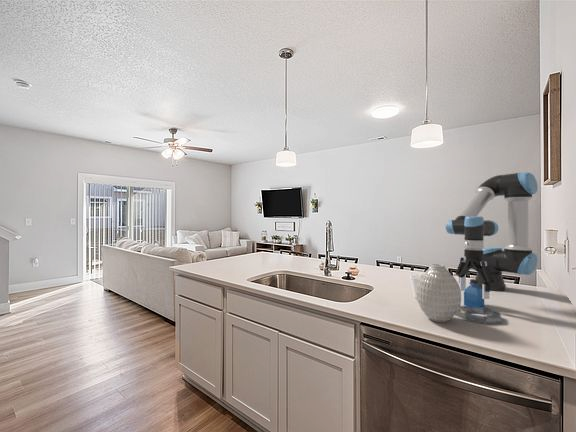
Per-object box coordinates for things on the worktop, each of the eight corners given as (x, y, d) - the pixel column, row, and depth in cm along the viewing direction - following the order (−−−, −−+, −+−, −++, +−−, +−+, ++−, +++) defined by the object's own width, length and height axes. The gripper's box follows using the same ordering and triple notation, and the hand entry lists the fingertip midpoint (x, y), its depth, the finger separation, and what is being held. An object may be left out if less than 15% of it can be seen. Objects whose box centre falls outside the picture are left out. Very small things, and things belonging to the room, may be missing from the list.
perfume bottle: (478, 308, 126) (478, 282, 126) (464, 305, 132) (463, 279, 131) (484, 305, 130) (484, 280, 130) (469, 302, 135) (469, 277, 135)
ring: (478, 309, 125) (478, 303, 125) (510, 322, 110) (510, 315, 110) (447, 311, 123) (447, 304, 123) (475, 324, 108) (475, 317, 108)
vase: (466, 319, 114) (465, 264, 114) (454, 330, 103) (454, 270, 103) (424, 309, 126) (424, 260, 125) (410, 319, 114) (409, 265, 114)
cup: (434, 301, 136) (434, 279, 136) (412, 300, 138) (412, 278, 138) (428, 296, 146) (428, 275, 146) (408, 295, 148) (407, 274, 148)
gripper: (447, 246, 143) (447, 287, 142) (489, 252, 118) (489, 302, 118) (461, 246, 144) (460, 287, 144) (505, 252, 119) (504, 302, 119)
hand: (473, 294), depth 131 cm, fingers open, 13 cm apart
